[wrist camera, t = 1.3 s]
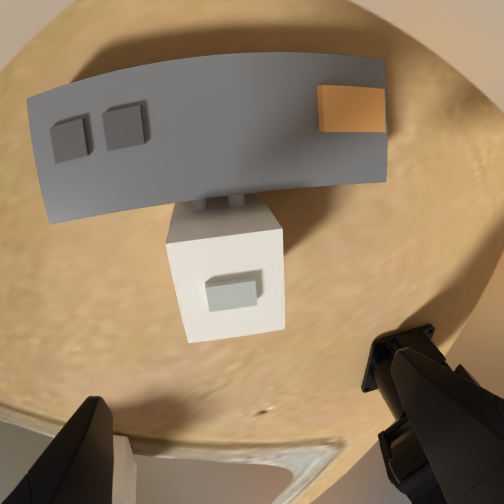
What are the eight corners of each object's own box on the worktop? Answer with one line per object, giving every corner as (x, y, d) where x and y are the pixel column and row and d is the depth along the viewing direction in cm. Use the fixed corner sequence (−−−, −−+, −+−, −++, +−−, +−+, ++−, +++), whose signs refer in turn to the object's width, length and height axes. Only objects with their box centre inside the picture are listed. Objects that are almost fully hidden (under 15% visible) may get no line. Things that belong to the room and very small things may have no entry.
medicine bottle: (62, 424, 24) (42, 526, 13) (128, 435, 25) (122, 544, 14) (79, 455, 26) (68, 542, 16) (137, 464, 28) (136, 555, 17)
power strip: (354, 167, 17) (392, 185, 14) (74, 202, 15) (44, 229, 12) (352, 65, 15) (392, 58, 11) (57, 98, 13) (19, 98, 9)
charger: (263, 271, 19) (287, 334, 14) (189, 281, 19) (188, 348, 14) (254, 137, 16) (281, 152, 10) (167, 147, 15) (150, 168, 10)
